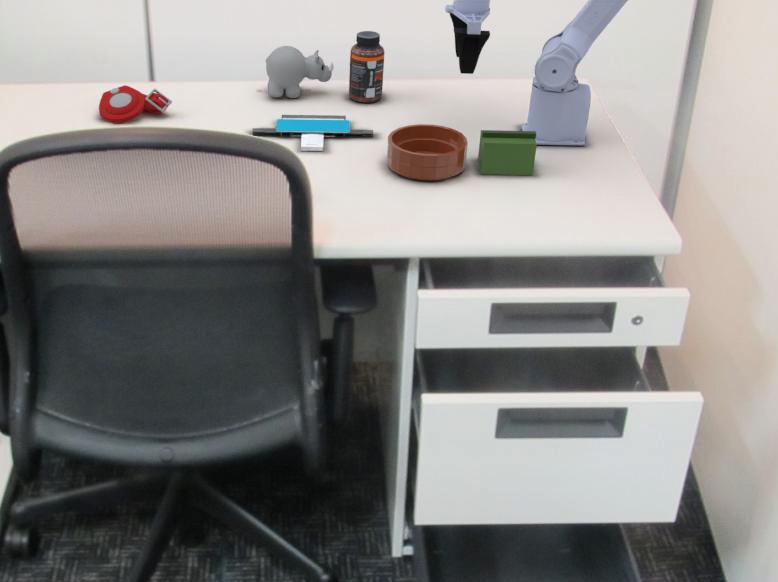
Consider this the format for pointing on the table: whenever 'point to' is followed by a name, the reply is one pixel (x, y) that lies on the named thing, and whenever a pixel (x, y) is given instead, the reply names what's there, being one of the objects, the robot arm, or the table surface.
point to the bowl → (426, 152)
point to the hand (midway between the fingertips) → (464, 64)
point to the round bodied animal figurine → (293, 71)
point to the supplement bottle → (366, 68)
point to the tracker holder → (130, 104)
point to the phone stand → (312, 129)
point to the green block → (507, 152)
